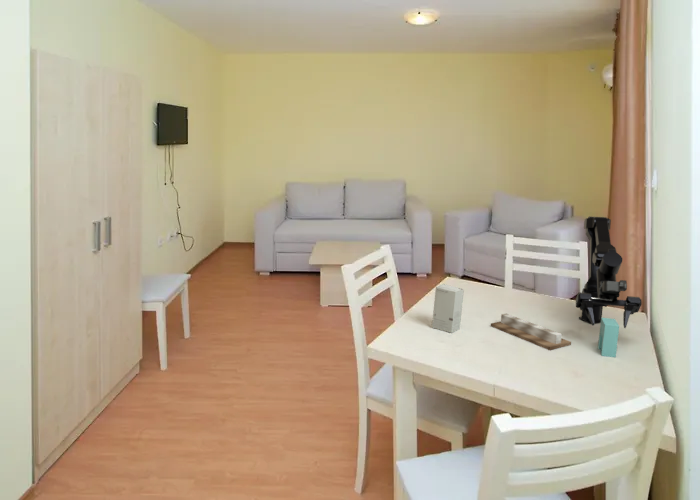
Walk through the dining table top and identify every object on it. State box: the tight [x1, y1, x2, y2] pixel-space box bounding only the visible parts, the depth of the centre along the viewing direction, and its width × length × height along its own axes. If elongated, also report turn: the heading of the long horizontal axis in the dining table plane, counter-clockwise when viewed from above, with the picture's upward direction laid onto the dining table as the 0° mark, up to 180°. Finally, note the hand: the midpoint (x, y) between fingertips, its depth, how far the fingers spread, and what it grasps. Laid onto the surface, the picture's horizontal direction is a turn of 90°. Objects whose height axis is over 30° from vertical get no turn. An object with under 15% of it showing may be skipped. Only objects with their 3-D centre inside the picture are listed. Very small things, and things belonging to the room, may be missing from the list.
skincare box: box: [431, 283, 465, 334], centre depth 203 cm, size 8×6×15 cm
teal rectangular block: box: [597, 317, 620, 358], centre depth 184 cm, size 7×4×10 cm, turn 166°
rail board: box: [490, 313, 572, 351], centre depth 199 cm, size 26×10×4 cm, turn 31°
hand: (609, 326), depth 184 cm, fingers open, 9 cm apart
